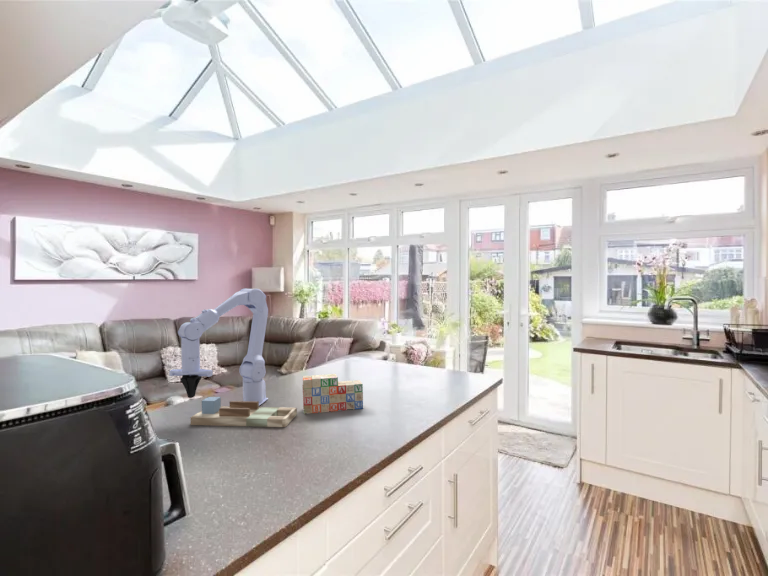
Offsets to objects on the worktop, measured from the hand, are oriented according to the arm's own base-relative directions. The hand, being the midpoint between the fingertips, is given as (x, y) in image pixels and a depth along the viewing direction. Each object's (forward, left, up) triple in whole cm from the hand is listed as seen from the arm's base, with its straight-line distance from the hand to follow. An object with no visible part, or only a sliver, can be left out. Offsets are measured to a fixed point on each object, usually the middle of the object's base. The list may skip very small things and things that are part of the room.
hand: (191, 396), depth 141 cm
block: (0, +7, -5) cm, 9 cm away
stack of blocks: (-14, +46, -8) cm, 49 cm away
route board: (0, +19, -8) cm, 20 cm away
